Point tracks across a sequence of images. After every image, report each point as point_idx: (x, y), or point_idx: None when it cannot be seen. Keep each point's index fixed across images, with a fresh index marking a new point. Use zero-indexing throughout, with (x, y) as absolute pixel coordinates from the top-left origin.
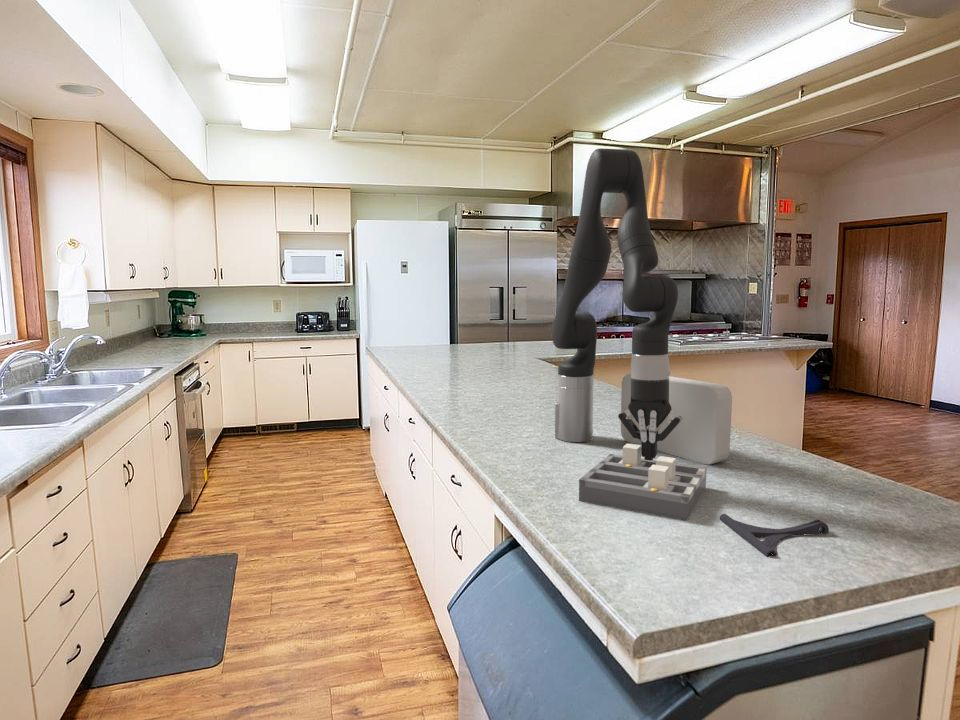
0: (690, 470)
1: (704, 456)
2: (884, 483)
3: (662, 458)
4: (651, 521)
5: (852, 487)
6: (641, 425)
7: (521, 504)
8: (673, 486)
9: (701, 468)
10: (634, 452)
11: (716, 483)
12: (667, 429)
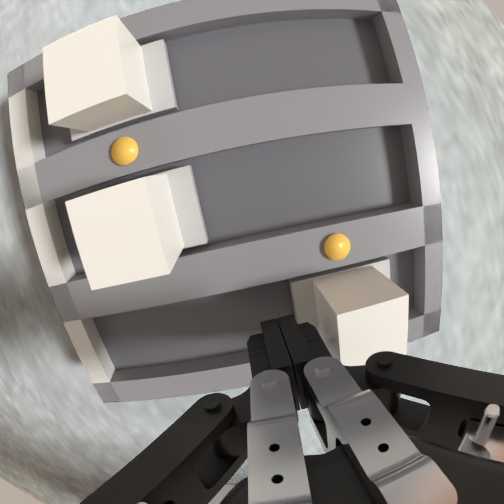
0: (138, 372)
1: (221, 497)
2: (6, 477)
3: (135, 238)
4: (116, 11)
5: (5, 458)
6: (370, 419)
7: None
8: (73, 137)
9: (106, 387)
10: (344, 303)
11: (123, 402)
12: (165, 459)
